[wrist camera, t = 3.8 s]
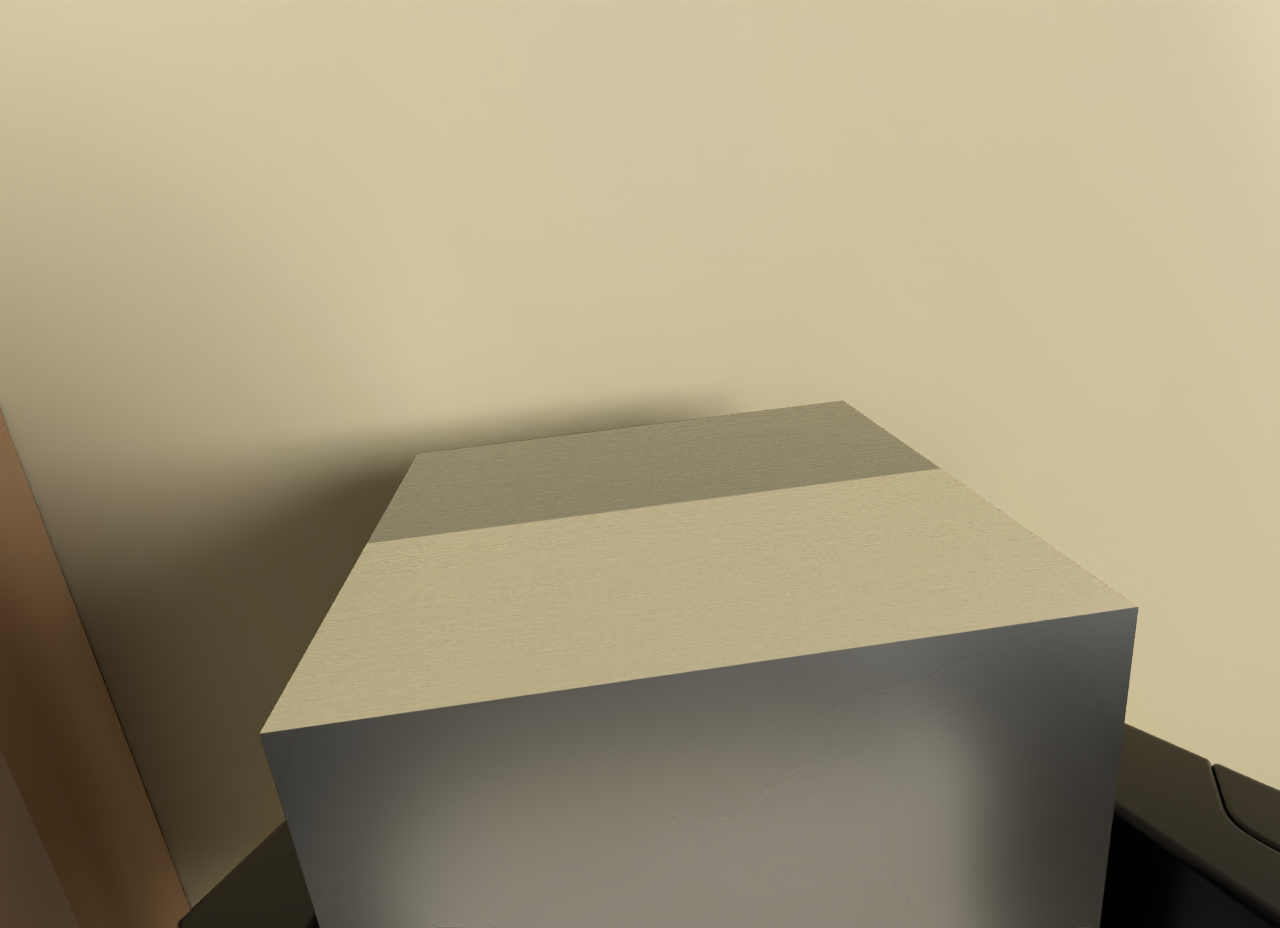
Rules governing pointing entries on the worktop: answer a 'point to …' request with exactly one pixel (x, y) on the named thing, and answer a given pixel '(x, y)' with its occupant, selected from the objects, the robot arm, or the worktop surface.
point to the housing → (705, 693)
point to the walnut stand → (65, 754)
